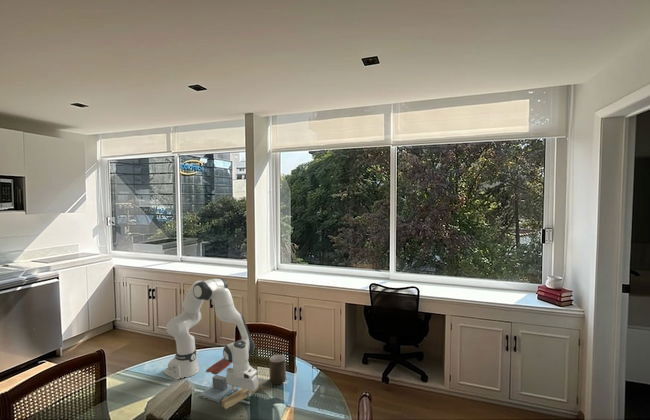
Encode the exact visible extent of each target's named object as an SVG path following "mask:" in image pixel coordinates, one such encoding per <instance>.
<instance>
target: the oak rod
mask: <svg viewBox="0 0 650 420" xmlns="http://www.w3.org/2000/svg"><path fill="white" fill-rule="evenodd" d="M261 389H262V382H261V380H258V388H257V389H256V390H255V391H252V392H251V395H253V394H254V393H256V392H257V391H259V390H261ZM248 392H249V391H248V390H247V389H244V388H240V389H239V390H238V391H237V392H235V393H234V392H232V394H231V393H230V394H229V395H227V396H226V397H225V398H224V399H223V400H222V401H221V407H222V406H223V407H224V408H223V407H222V408H223V409H225V408H226V409H227V408H228V409H230V408H231V407H233V406H235V405H236V404H238V403H240V402H241V401H243V400H245V399H246V398H248V397H249V396H247V393H248ZM229 407H230V408H229ZM226 409H225V410H226ZM228 409H227V410H228Z"/></svg>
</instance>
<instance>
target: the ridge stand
mask: <svg viewBox="0 0 650 420" xmlns="http://www.w3.org/2000/svg"><path fill="white" fill-rule="evenodd" d="M236 388H237V389H238V387H236ZM233 392H234V390H233V388H232V385H229V384H227V383H226V376H221V375H218V374H214V376H212V384H211V385H210V386H208V387H207V388H206V389H204V390H203V391H202V392H201V393H199V396H200V395H201V396H203V397H206V398H209V399H212V400H215V401H217V402H216V403H221V402H222V401H221V400H222V399H225V398H226V397H228V396H229V395H231V393H233ZM209 399H208V400H209ZM212 400H211V401H212ZM215 401H214V402H215Z"/></svg>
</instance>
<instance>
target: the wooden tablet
mask: <svg viewBox="0 0 650 420" xmlns="http://www.w3.org/2000/svg"><path fill="white" fill-rule="evenodd" d="M230 363H231V362H228V361H227V360H225V359H224V357H223V358H221V359H220V360H218V361H216V362H215V363H214V364H212V365H211V366H209V367H208V368H207V369H206V370H205V372H206V373H211V374H214V375H218V374H219V373H221V372H222V371H224V369H227V367H228V366H230V365H231V364H232V363H231V364H230Z"/></svg>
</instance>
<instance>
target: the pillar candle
mask: <svg viewBox="0 0 650 420" xmlns="http://www.w3.org/2000/svg"><path fill="white" fill-rule="evenodd" d="M286 368H287V367H286V356H285V355H282V354H274V355H272V356H271V357H270V358H269V381H270V383H271V384H272V385H281V384H283V382H284V383H285V380H286V381H287V377H286V376H287V374H286V373H287V372H286V370H287V369H286Z"/></svg>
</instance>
